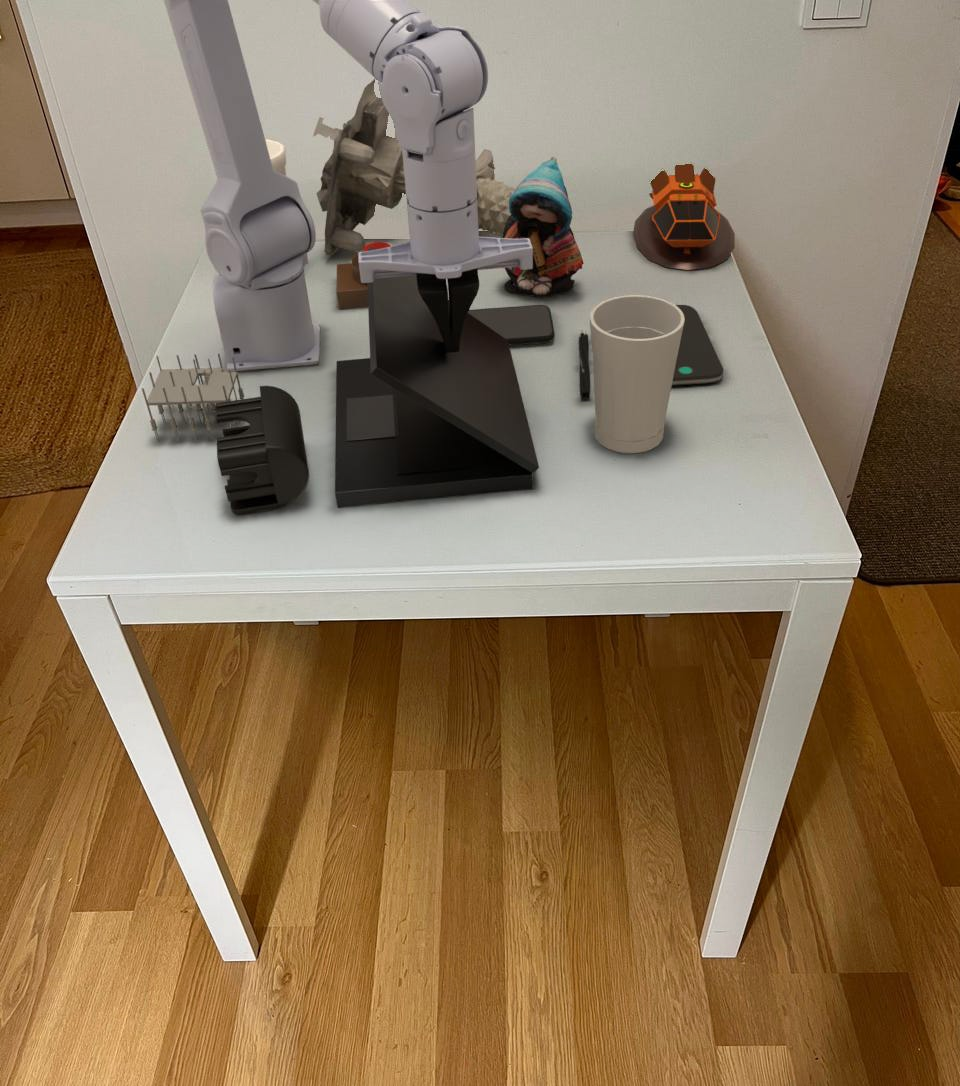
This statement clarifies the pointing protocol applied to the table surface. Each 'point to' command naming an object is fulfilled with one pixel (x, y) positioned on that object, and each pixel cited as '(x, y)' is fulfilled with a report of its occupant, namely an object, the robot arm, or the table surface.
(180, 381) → the building frame
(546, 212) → the figurine
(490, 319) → the smartphone
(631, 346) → the cup
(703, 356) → the smartphone
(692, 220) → the toy spacecraft
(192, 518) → the table surface
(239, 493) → the end cap
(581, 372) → the black pen
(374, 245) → the button
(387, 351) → the laptop screen
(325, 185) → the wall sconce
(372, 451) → the laptop
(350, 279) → the switch block
